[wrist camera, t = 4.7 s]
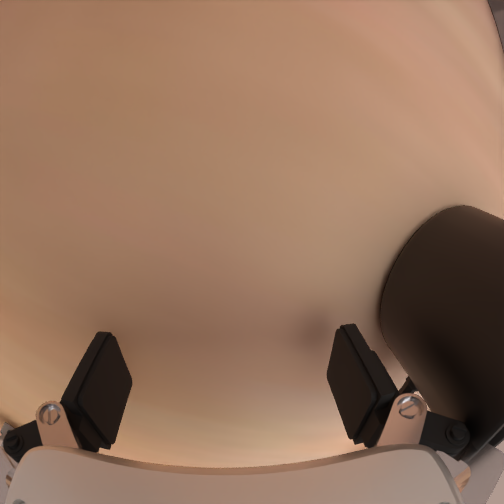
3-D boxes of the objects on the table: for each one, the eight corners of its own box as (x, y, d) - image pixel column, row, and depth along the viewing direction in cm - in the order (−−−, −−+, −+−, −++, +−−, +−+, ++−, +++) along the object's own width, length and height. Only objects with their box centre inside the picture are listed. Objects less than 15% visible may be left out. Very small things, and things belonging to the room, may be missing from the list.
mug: (310, 359, 13) (364, 517, 5) (447, 165, 10) (609, 224, 2) (404, 387, 16) (455, 480, 7) (504, 255, 12) (591, 319, 4)
